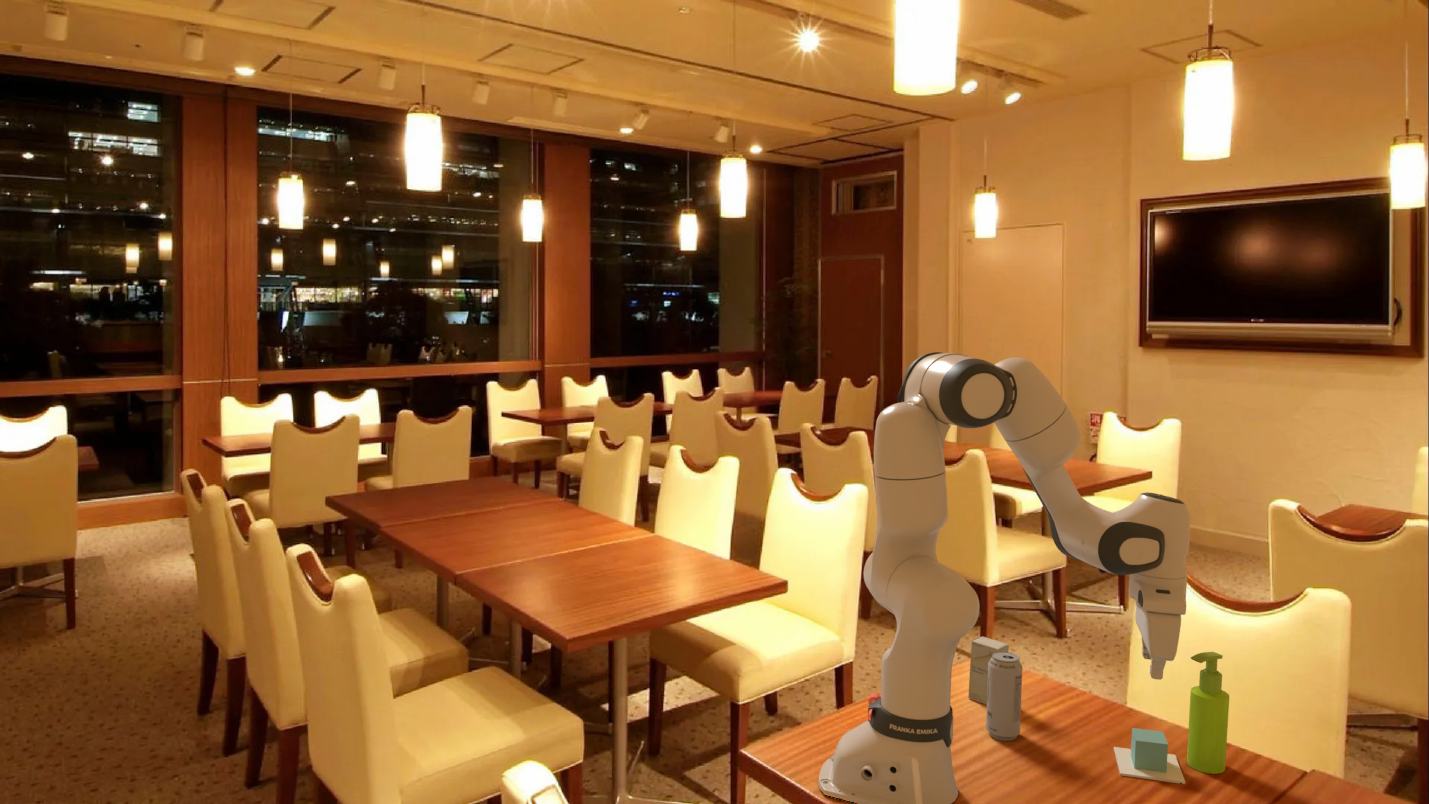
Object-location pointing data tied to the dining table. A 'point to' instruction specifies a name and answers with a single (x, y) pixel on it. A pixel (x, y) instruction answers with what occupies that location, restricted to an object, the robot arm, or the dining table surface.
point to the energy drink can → (1004, 696)
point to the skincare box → (982, 666)
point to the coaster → (1128, 770)
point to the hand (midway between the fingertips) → (1151, 667)
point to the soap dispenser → (1208, 718)
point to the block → (1149, 750)
